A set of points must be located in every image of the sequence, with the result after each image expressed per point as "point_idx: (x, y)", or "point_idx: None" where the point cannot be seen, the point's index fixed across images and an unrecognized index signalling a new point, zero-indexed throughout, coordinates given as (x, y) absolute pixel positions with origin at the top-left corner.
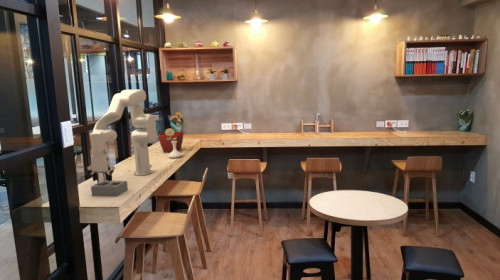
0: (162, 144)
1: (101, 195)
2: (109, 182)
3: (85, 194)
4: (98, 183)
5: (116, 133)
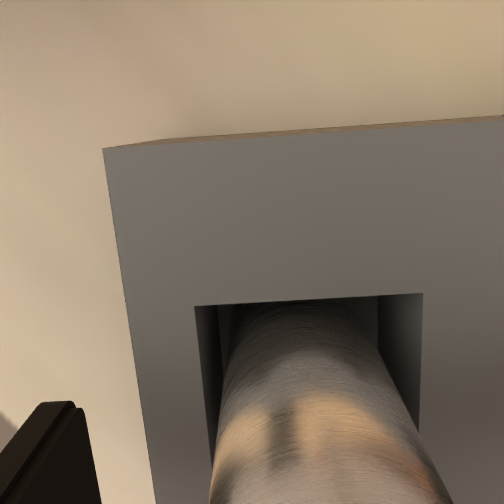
0: None
1: None
2: (434, 298)
3: None
4: (180, 400)
5: None
